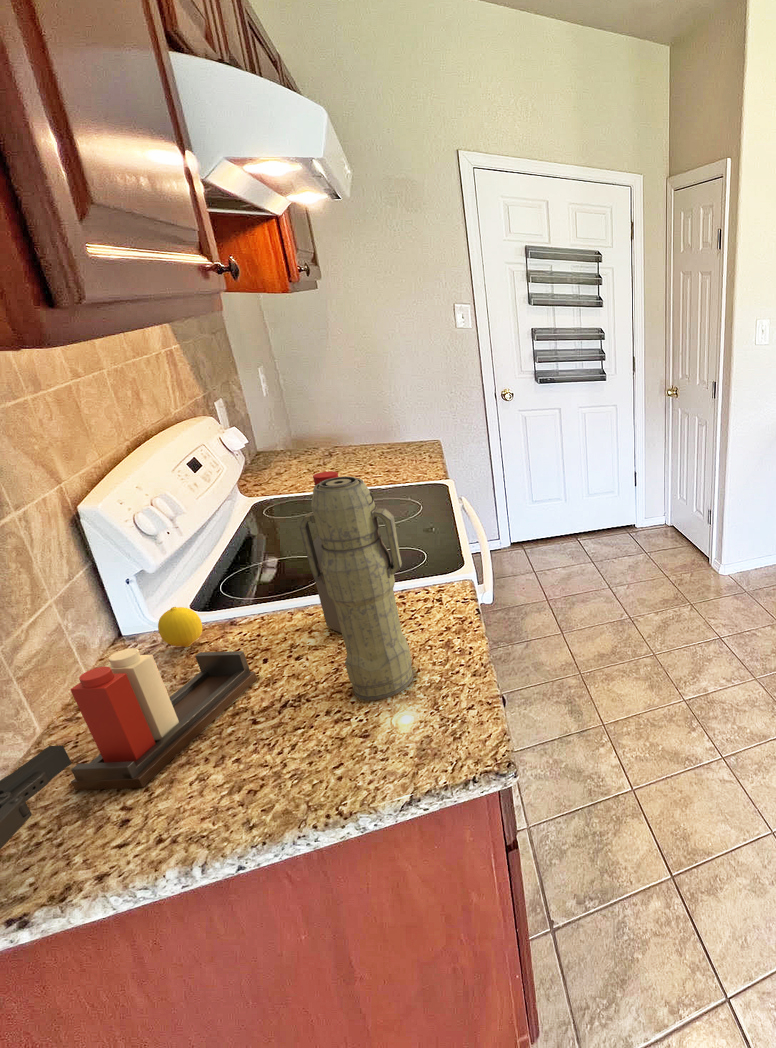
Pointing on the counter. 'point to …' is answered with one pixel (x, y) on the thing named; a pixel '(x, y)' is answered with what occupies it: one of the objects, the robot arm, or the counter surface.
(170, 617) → the lemon
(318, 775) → the counter surface
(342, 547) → the thermos
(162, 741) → the rail
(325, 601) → the liquor
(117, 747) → the marker red
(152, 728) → the marker cream
